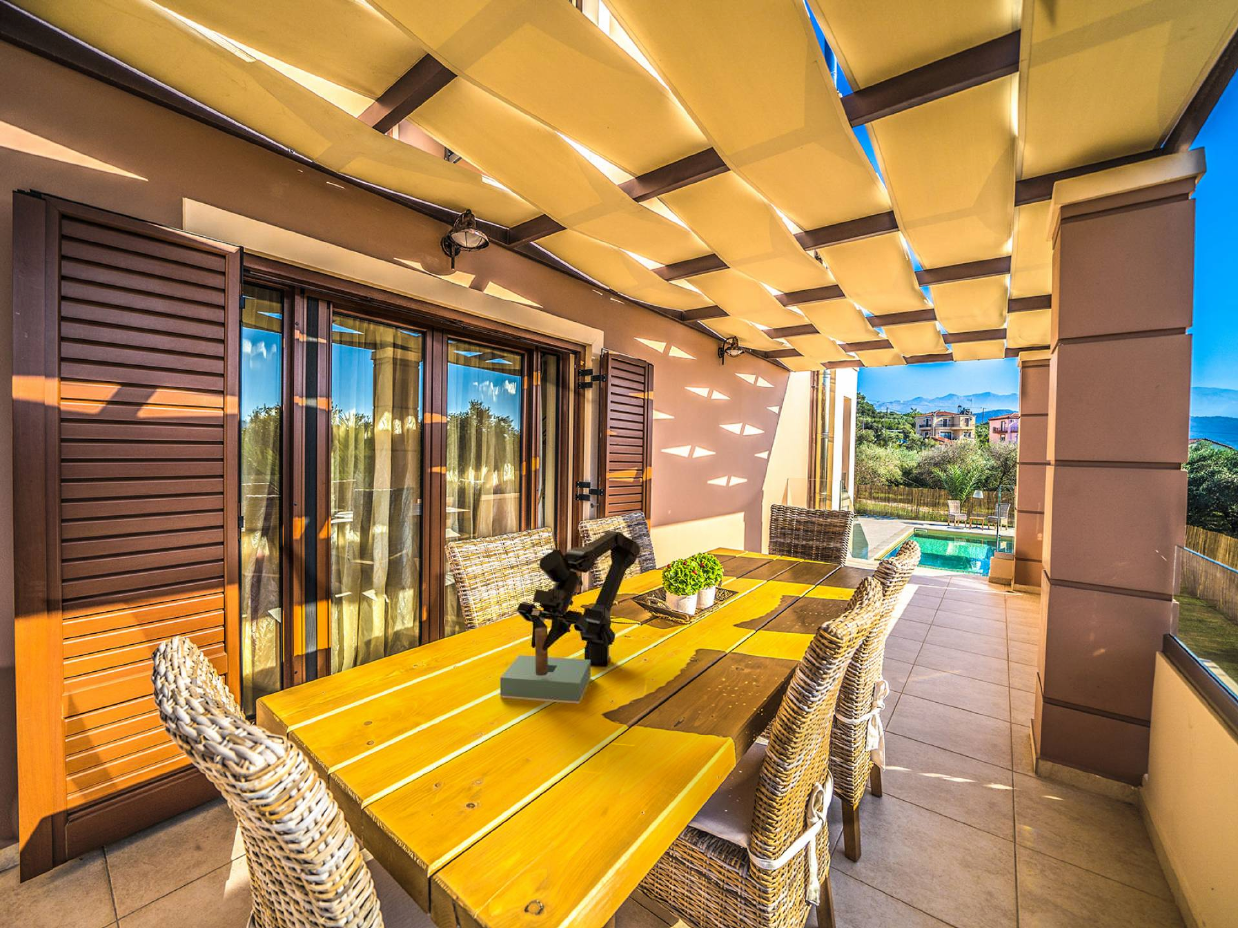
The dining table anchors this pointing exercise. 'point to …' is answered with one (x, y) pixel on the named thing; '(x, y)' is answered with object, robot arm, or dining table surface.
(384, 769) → the dining table surface
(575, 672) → the board
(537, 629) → the pin
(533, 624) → the robot arm
